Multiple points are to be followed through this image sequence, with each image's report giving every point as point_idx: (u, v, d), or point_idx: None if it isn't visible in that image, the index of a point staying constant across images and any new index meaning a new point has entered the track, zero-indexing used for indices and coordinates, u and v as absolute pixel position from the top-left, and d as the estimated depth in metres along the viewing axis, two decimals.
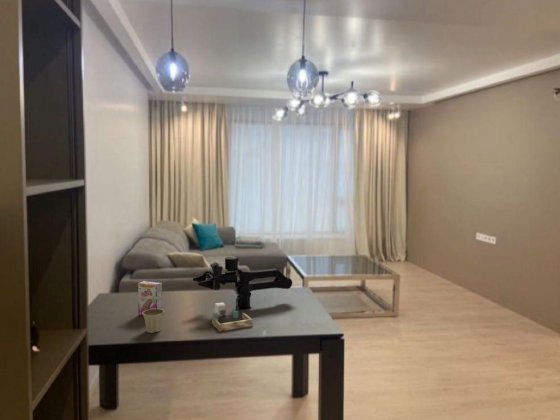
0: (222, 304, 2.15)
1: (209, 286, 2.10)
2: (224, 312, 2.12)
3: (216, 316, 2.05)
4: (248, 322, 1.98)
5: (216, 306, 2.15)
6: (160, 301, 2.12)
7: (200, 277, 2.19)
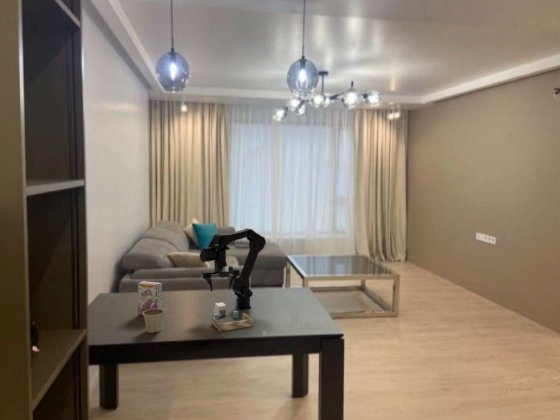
0: (222, 304, 2.15)
1: None
2: (224, 312, 2.12)
3: (216, 316, 2.05)
4: (248, 322, 1.98)
5: (216, 306, 2.15)
6: (160, 301, 2.12)
7: None
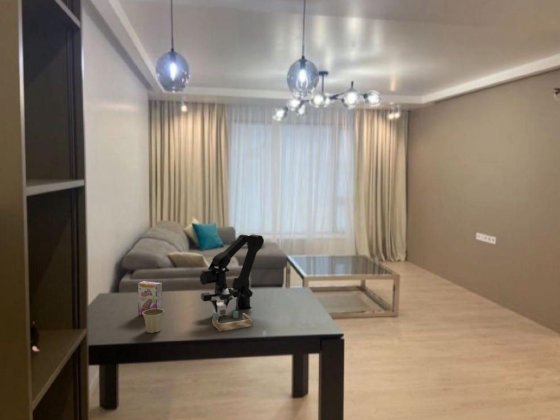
0: (222, 304, 2.15)
1: None
2: (224, 312, 2.12)
3: (216, 316, 2.05)
4: (248, 322, 1.98)
5: None
6: (160, 301, 2.12)
7: None
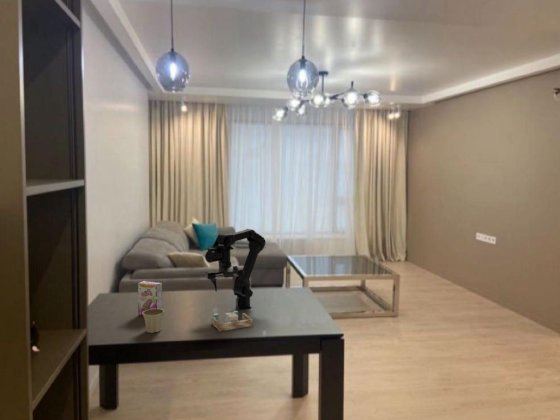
0: (233, 314, 1.99)
1: None
2: None
3: (216, 316, 2.05)
4: (248, 322, 1.98)
5: (227, 316, 1.99)
6: (160, 301, 2.12)
7: None
